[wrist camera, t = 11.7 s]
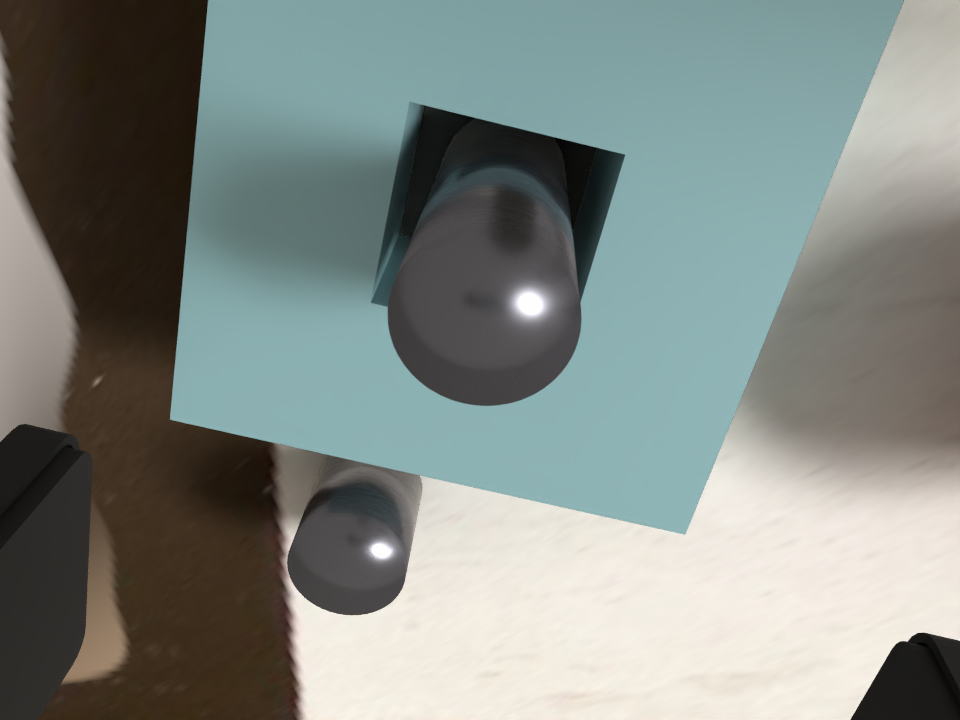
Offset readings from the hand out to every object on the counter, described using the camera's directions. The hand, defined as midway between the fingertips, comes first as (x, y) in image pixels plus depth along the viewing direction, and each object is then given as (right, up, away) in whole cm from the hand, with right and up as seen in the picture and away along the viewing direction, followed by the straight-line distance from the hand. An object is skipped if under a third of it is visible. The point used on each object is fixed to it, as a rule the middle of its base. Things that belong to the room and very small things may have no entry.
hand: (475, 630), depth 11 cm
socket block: (+1, +9, +19) cm, 21 cm away
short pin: (-4, -2, +25) cm, 25 cm away
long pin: (+1, +9, +19) cm, 21 cm away
